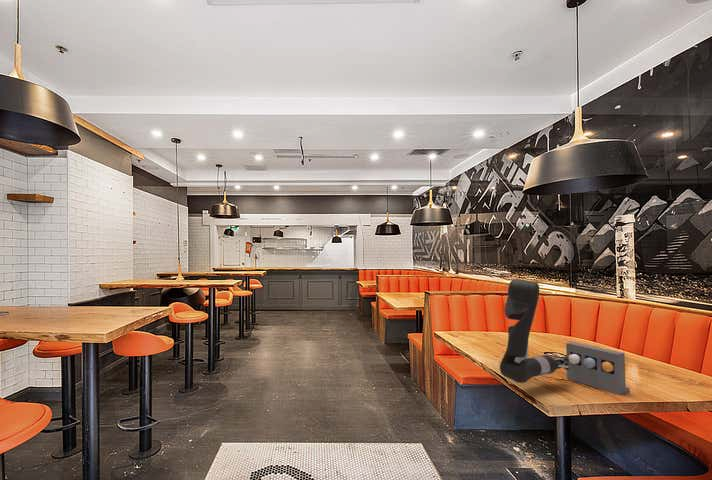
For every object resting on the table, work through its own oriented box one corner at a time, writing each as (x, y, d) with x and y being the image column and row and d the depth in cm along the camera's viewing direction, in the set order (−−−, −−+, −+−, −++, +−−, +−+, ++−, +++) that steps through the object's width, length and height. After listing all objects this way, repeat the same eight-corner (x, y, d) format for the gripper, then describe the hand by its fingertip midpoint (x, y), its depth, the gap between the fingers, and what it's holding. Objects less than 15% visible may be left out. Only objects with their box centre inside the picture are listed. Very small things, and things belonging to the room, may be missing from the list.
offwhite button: (568, 362, 155) (568, 353, 156) (572, 361, 157) (572, 352, 157) (577, 364, 152) (577, 355, 152) (581, 364, 153) (581, 354, 153)
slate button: (583, 366, 150) (583, 357, 150) (587, 365, 151) (587, 356, 151) (593, 369, 146) (593, 359, 146) (597, 368, 147) (597, 358, 148)
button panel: (567, 378, 157) (566, 343, 158) (577, 376, 161) (576, 341, 162) (619, 394, 139) (617, 354, 140) (629, 391, 142) (628, 352, 143)
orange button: (601, 370, 144) (601, 360, 145) (605, 369, 146) (605, 359, 146) (612, 373, 141) (612, 363, 141) (616, 372, 142) (616, 362, 142)
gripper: (556, 360, 138) (582, 355, 146) (526, 352, 150) (552, 348, 158) (556, 379, 138) (582, 373, 145) (527, 369, 149) (552, 364, 157)
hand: (566, 360), depth 152 cm, fingers closed
